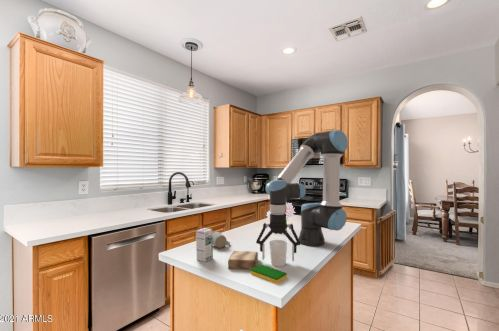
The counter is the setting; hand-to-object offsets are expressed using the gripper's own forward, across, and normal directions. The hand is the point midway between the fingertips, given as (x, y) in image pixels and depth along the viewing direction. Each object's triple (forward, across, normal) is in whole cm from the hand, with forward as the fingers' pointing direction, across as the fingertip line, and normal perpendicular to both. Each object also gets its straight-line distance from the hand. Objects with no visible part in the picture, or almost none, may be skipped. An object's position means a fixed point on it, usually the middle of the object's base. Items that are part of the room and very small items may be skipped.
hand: (278, 259), depth 114 cm
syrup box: (+2, +36, -2) cm, 36 cm away
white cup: (+2, 0, 0) cm, 2 cm away
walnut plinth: (+2, +16, +2) cm, 16 cm away
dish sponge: (+3, +4, +13) cm, 14 cm away
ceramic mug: (+2, +33, -23) cm, 40 cm away
